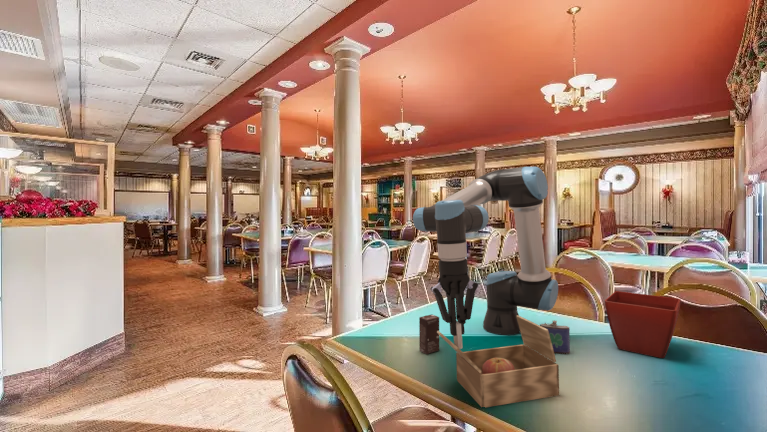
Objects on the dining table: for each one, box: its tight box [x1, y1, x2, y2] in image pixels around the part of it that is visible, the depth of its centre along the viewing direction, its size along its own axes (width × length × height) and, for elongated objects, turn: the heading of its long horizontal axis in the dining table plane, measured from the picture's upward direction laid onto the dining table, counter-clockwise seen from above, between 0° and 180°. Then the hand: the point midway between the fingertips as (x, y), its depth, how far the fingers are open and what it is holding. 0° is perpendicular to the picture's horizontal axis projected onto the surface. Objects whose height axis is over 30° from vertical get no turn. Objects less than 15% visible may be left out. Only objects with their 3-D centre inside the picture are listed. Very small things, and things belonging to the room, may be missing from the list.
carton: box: [455, 343, 560, 408], centre depth 99 cm, size 22×15×8 cm
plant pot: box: [604, 290, 682, 359], centre depth 122 cm, size 19×19×17 cm
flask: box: [539, 320, 571, 355], centre depth 121 cm, size 9×3×11 cm, turn 68°
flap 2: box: [516, 314, 557, 363], centre depth 101 cm, size 1×13×9 cm, turn 13°
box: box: [418, 314, 440, 355], centre depth 125 cm, size 6×4×12 cm
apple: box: [482, 358, 515, 374], centre depth 98 cm, size 9×9×8 cm
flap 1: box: [437, 330, 482, 373], centre depth 95 cm, size 1×13×9 cm
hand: (458, 346), depth 95 cm, fingers closed
